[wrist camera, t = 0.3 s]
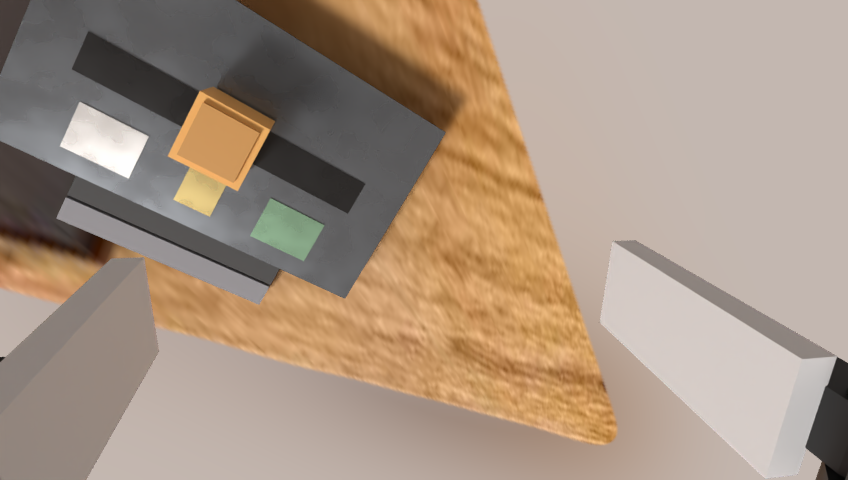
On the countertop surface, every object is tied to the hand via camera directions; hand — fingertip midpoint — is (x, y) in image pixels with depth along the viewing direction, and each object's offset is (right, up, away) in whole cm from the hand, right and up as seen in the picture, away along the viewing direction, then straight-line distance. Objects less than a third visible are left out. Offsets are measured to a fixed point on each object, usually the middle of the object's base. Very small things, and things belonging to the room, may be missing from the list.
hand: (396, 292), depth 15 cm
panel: (-12, +9, +21) cm, 26 cm away
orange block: (-11, +8, +17) cm, 22 cm away
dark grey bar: (-16, +3, +22) cm, 28 cm away
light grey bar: (-17, +1, +22) cm, 28 cm away
